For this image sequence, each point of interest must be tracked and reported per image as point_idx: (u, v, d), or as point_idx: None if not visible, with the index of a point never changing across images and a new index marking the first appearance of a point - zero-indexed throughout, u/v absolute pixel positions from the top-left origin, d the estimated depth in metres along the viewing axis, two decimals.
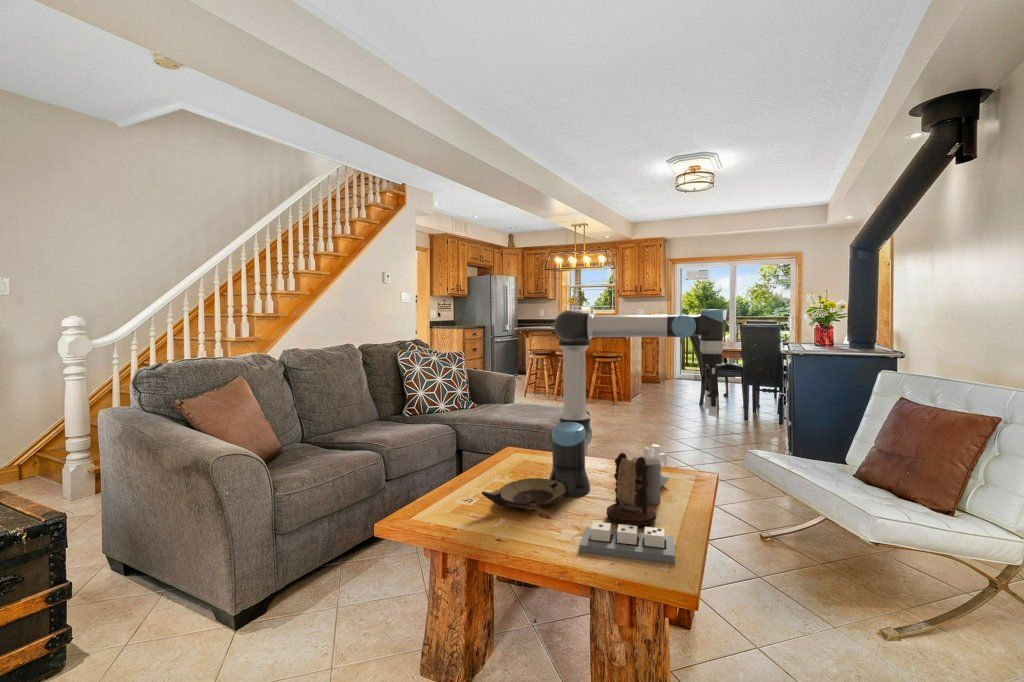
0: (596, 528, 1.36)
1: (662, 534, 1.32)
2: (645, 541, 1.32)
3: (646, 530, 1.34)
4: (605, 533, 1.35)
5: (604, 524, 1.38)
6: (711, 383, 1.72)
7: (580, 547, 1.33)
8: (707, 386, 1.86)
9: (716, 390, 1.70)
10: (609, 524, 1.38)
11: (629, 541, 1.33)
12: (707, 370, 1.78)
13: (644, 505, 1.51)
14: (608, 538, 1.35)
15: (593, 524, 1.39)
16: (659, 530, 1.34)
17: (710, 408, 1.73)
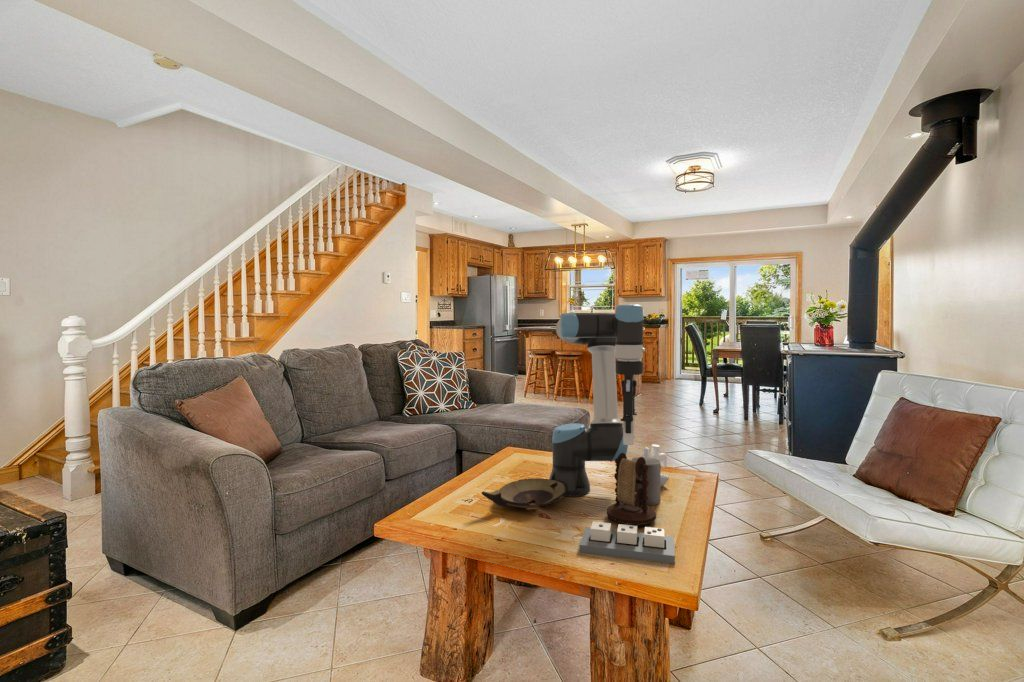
0: (596, 528, 1.36)
1: (662, 534, 1.32)
2: (645, 541, 1.32)
3: (646, 530, 1.34)
4: (605, 533, 1.35)
5: (604, 524, 1.38)
6: (624, 404, 1.36)
7: (580, 547, 1.33)
8: None
9: (630, 414, 1.35)
10: (609, 524, 1.38)
11: (629, 541, 1.33)
12: (623, 383, 1.40)
13: (644, 505, 1.51)
14: (608, 538, 1.35)
15: (593, 524, 1.39)
16: (659, 530, 1.34)
17: (625, 435, 1.38)
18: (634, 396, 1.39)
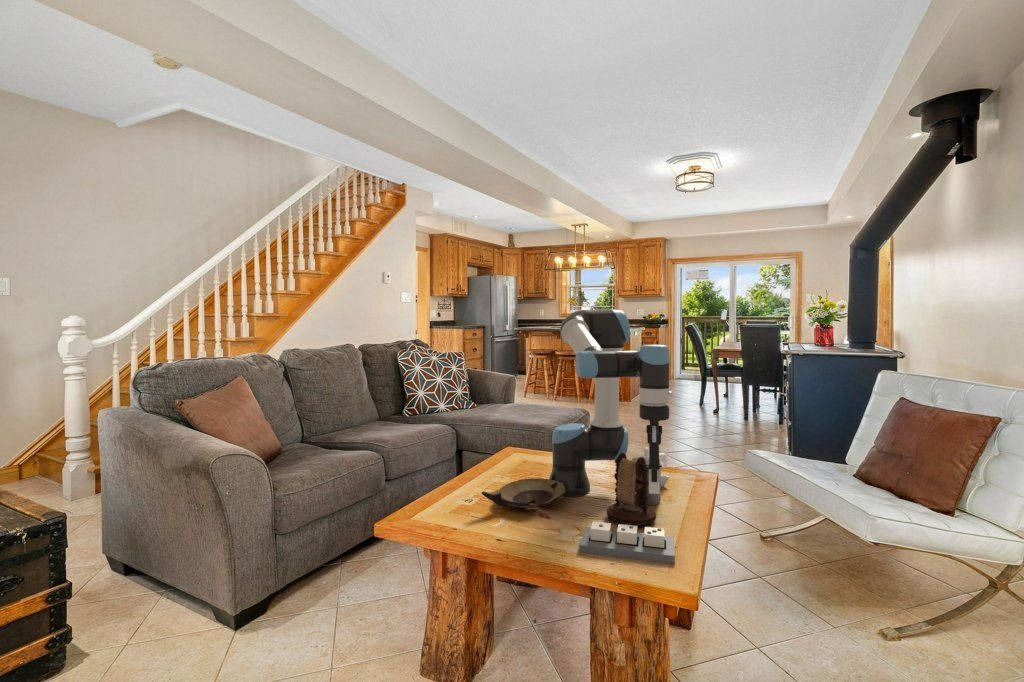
0: (596, 528, 1.36)
1: (662, 534, 1.32)
2: (645, 541, 1.32)
3: (646, 530, 1.34)
4: (605, 533, 1.35)
5: (604, 524, 1.38)
6: (651, 454, 1.29)
7: (580, 547, 1.33)
8: None
9: (657, 464, 1.29)
10: (609, 524, 1.38)
11: (629, 541, 1.33)
12: (648, 429, 1.31)
13: (644, 505, 1.51)
14: (608, 538, 1.35)
15: (593, 524, 1.39)
16: (659, 530, 1.34)
17: (650, 484, 1.33)
18: None
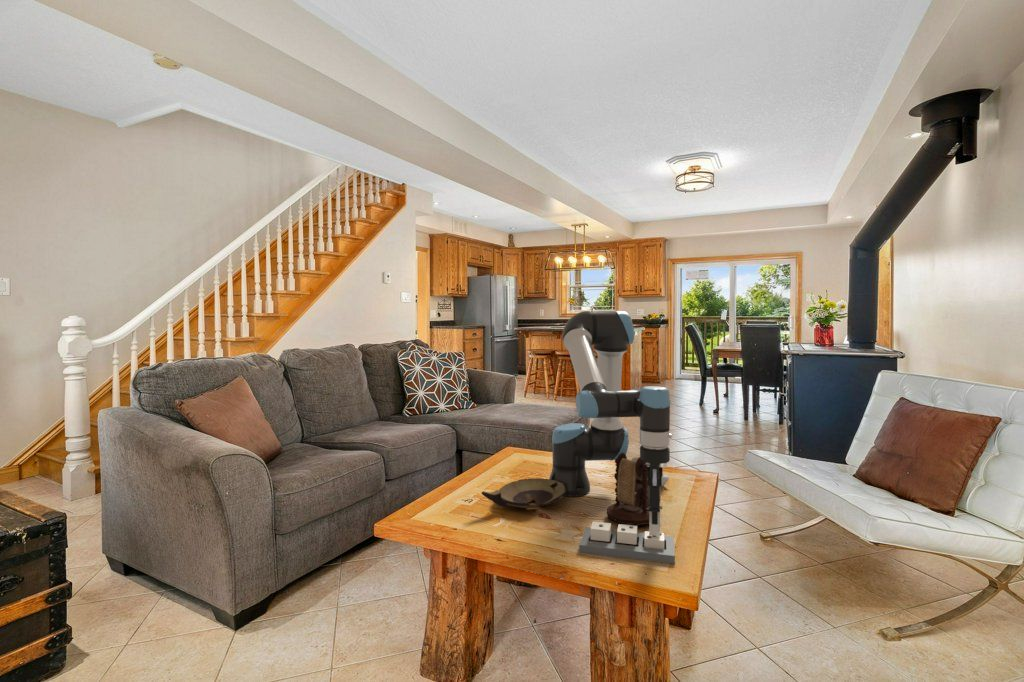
0: (596, 528, 1.36)
1: (662, 538, 1.32)
2: (645, 545, 1.32)
3: (646, 534, 1.34)
4: (605, 533, 1.35)
5: (604, 524, 1.38)
6: (651, 497, 1.29)
7: (580, 547, 1.33)
8: None
9: (657, 507, 1.29)
10: (609, 524, 1.38)
11: (629, 541, 1.33)
12: (648, 472, 1.31)
13: (644, 505, 1.51)
14: (608, 538, 1.35)
15: (593, 524, 1.39)
16: None
17: (651, 525, 1.33)
18: (660, 485, 1.32)
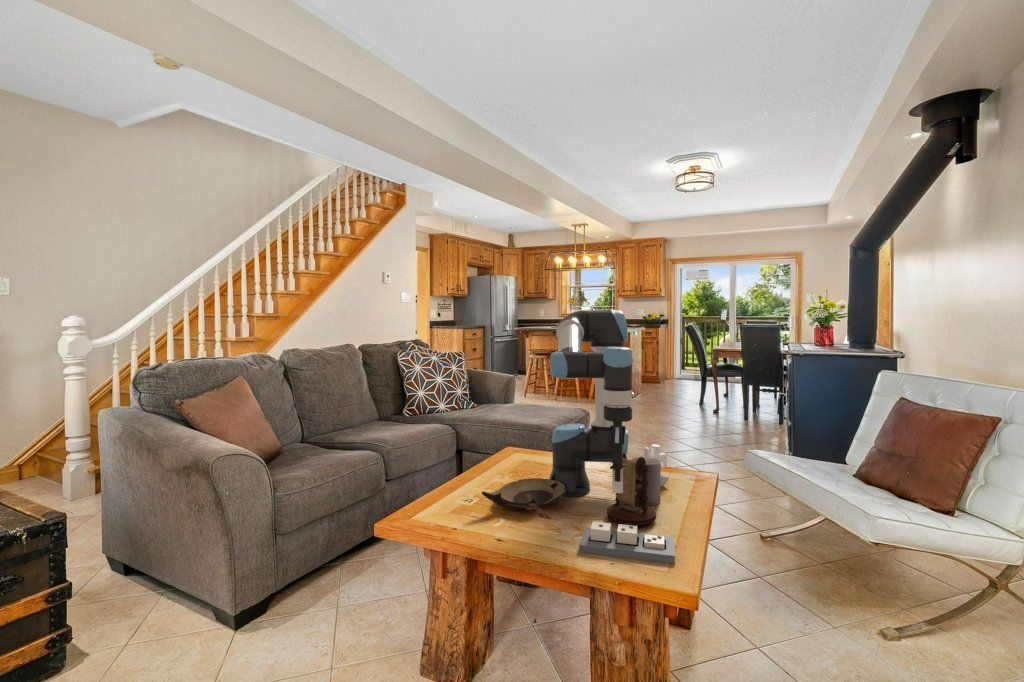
0: (596, 528, 1.36)
1: (662, 542, 1.32)
2: None
3: (646, 538, 1.34)
4: (605, 533, 1.35)
5: (604, 524, 1.38)
6: (614, 455, 1.31)
7: (580, 547, 1.33)
8: None
9: (620, 464, 1.32)
10: (609, 524, 1.38)
11: (629, 541, 1.33)
12: (611, 430, 1.34)
13: (644, 505, 1.51)
14: (608, 538, 1.35)
15: (593, 524, 1.39)
16: (659, 538, 1.34)
17: (614, 483, 1.36)
18: (623, 443, 1.34)
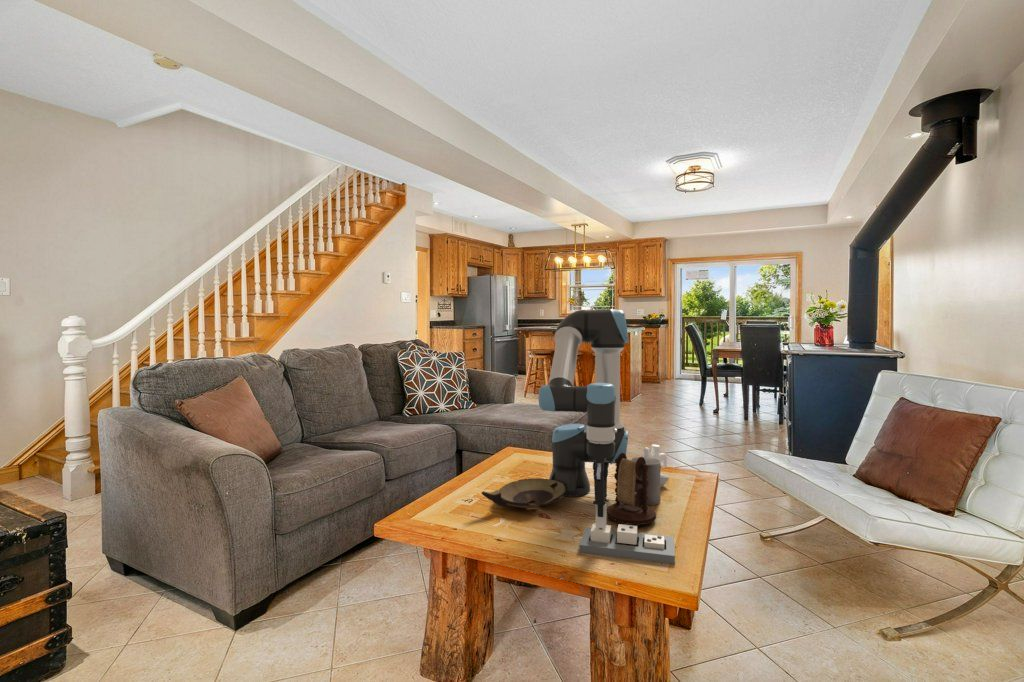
0: (596, 530, 1.36)
1: (662, 542, 1.32)
2: None
3: (646, 538, 1.34)
4: (605, 535, 1.35)
5: None
6: (596, 491, 1.33)
7: (580, 547, 1.33)
8: None
9: (602, 500, 1.33)
10: (609, 526, 1.38)
11: (629, 541, 1.33)
12: (594, 466, 1.35)
13: (644, 505, 1.51)
14: (608, 540, 1.35)
15: (593, 526, 1.39)
16: (659, 538, 1.34)
17: (597, 518, 1.37)
18: (606, 479, 1.35)
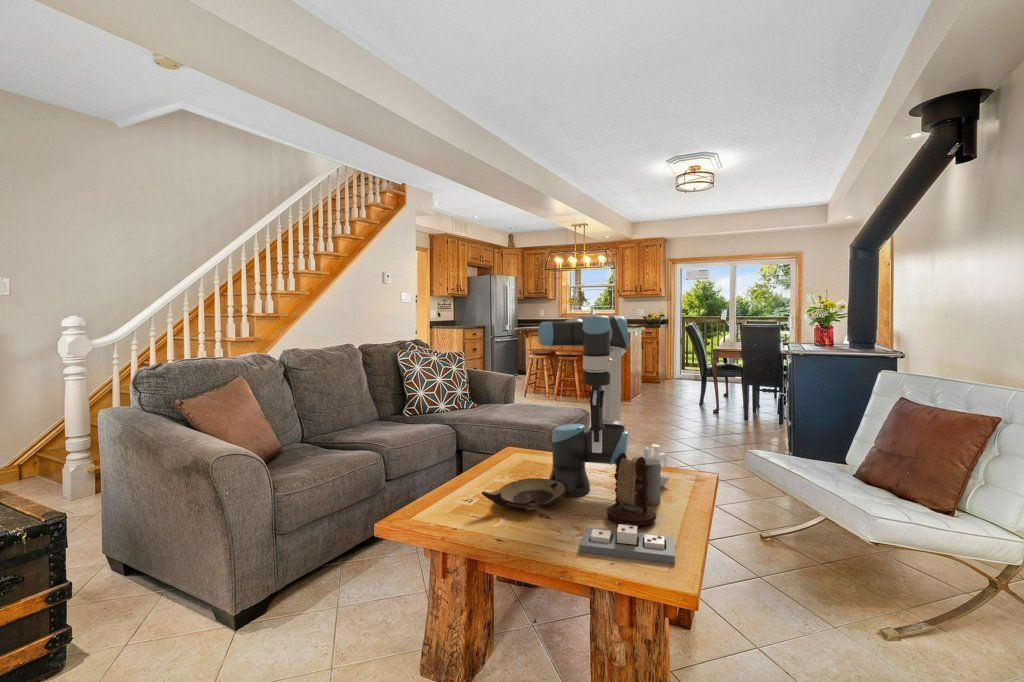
0: (596, 536, 1.36)
1: (662, 542, 1.32)
2: None
3: (646, 538, 1.34)
4: (605, 541, 1.35)
5: (604, 531, 1.39)
6: (592, 416, 1.40)
7: (580, 547, 1.33)
8: None
9: (598, 425, 1.40)
10: (609, 531, 1.39)
11: (629, 541, 1.33)
12: (590, 394, 1.42)
13: (644, 505, 1.51)
14: None
15: (593, 531, 1.39)
16: (659, 538, 1.34)
17: (593, 444, 1.44)
18: (601, 406, 1.42)
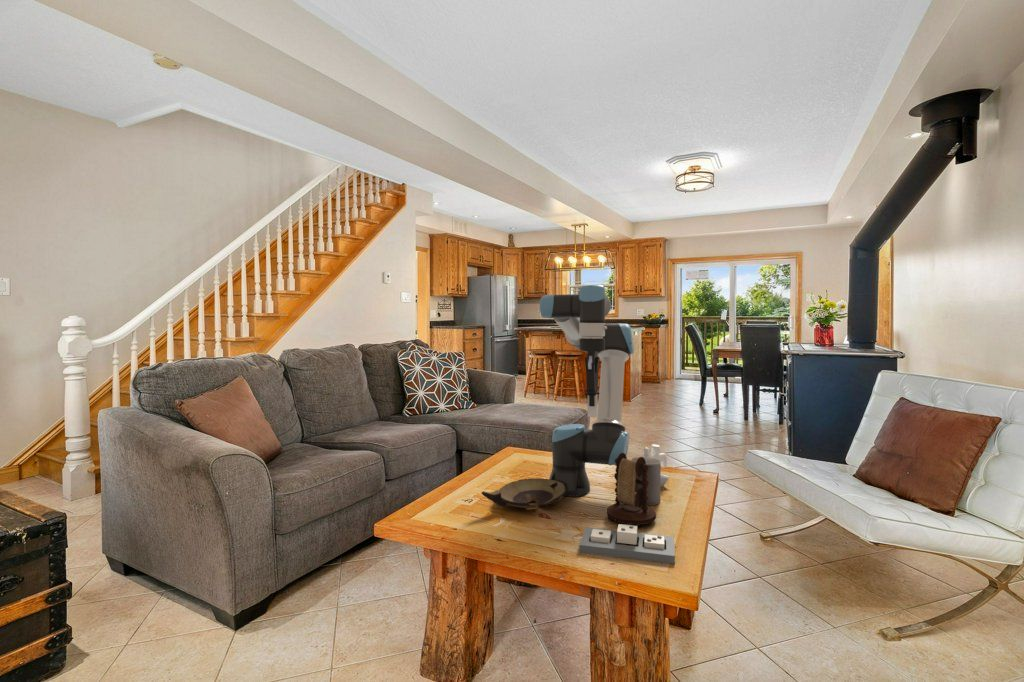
0: (596, 536, 1.36)
1: (662, 542, 1.32)
2: None
3: (646, 538, 1.34)
4: (605, 541, 1.35)
5: (604, 531, 1.39)
6: (587, 380, 1.46)
7: (580, 547, 1.33)
8: None
9: (593, 389, 1.47)
10: (609, 531, 1.39)
11: (629, 541, 1.33)
12: (586, 360, 1.49)
13: (644, 505, 1.51)
14: None
15: (593, 531, 1.39)
16: (659, 538, 1.34)
17: (589, 408, 1.50)
18: (597, 371, 1.49)
